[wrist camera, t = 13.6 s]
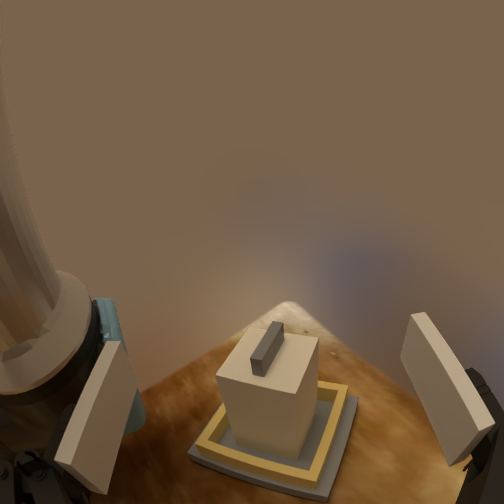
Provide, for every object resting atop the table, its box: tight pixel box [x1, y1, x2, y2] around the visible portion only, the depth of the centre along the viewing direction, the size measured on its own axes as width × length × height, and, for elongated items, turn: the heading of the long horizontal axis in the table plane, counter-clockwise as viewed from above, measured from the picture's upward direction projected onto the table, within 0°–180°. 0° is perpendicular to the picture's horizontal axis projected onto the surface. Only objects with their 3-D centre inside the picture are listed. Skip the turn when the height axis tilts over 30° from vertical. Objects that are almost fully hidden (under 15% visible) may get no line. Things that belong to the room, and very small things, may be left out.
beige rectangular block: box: [215, 321, 319, 461], centre depth 28 cm, size 7×7×14 cm
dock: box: [187, 381, 359, 502], centre depth 31 cm, size 16×14×4 cm
